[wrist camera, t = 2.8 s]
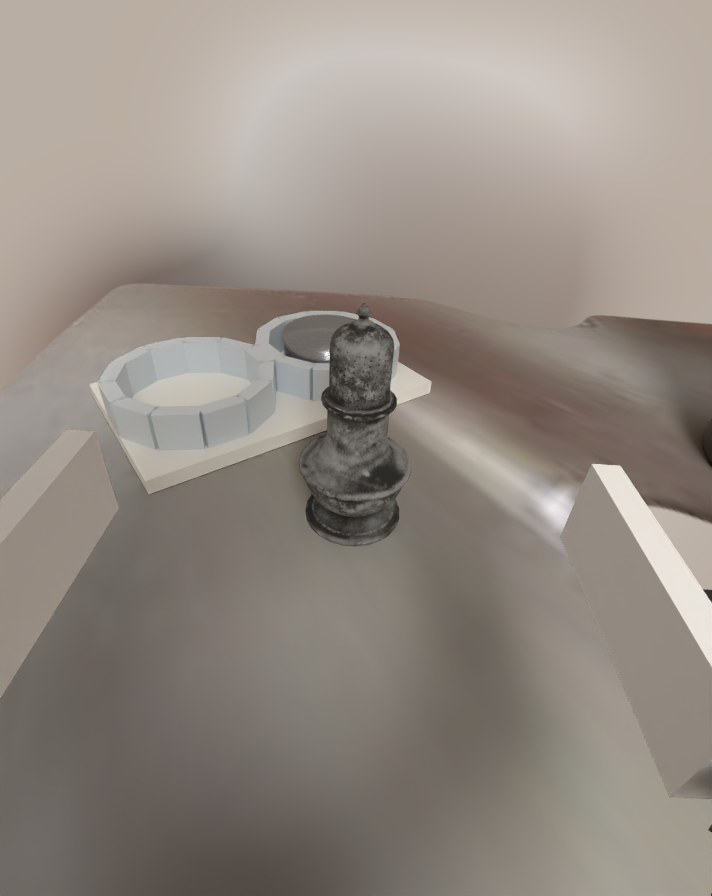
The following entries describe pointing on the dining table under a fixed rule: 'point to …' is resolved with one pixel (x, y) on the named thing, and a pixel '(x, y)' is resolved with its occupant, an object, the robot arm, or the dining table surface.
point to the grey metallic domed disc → (312, 337)
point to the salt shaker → (356, 441)
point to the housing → (220, 400)
